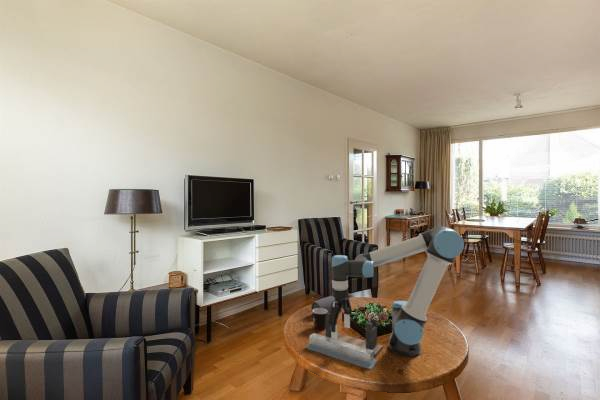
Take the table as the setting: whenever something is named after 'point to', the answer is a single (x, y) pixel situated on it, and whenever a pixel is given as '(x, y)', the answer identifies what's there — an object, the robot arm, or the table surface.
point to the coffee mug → (319, 319)
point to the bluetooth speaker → (323, 303)
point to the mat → (342, 357)
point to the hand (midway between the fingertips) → (341, 332)
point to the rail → (342, 348)
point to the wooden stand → (368, 344)
